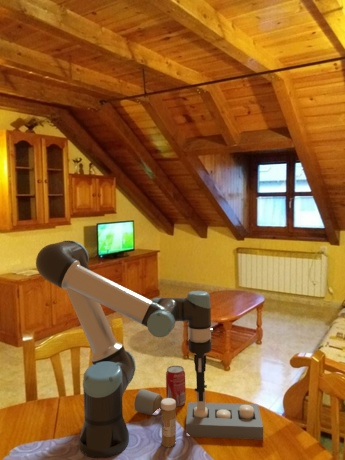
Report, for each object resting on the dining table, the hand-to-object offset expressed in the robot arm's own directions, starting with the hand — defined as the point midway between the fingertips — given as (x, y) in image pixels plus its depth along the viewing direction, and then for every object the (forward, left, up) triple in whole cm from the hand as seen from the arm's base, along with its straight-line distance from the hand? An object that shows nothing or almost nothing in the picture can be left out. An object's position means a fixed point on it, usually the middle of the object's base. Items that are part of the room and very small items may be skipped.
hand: (201, 408), depth 130 cm
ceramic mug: (-18, +8, -6) cm, 21 cm away
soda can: (-10, +14, -6) cm, 18 cm away
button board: (+7, 0, -6) cm, 9 cm away
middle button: (+7, 0, -4) cm, 8 cm away
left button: (0, 0, -3) cm, 3 cm away
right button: (+15, 0, -2) cm, 15 cm away
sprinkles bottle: (-10, -11, -6) cm, 16 cm away
